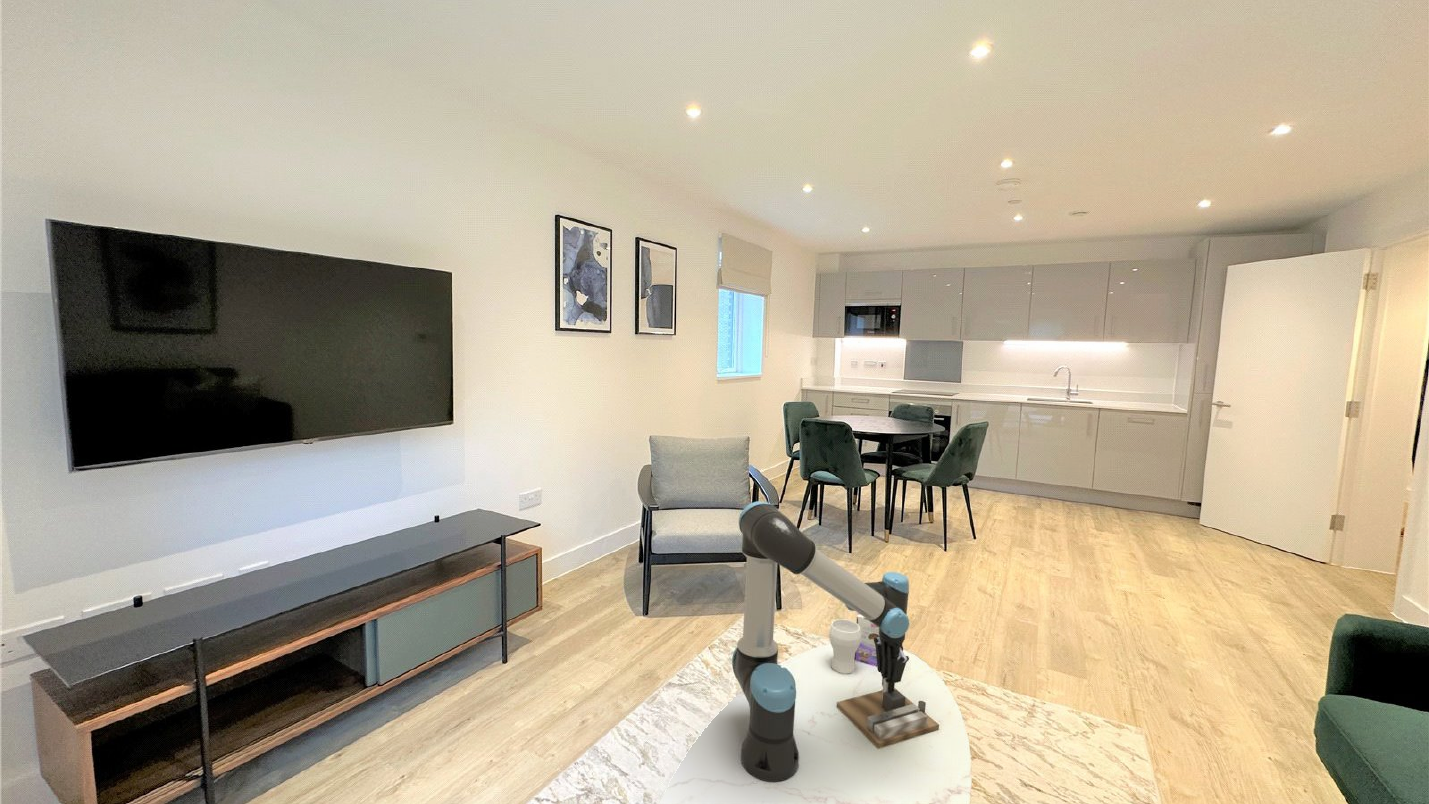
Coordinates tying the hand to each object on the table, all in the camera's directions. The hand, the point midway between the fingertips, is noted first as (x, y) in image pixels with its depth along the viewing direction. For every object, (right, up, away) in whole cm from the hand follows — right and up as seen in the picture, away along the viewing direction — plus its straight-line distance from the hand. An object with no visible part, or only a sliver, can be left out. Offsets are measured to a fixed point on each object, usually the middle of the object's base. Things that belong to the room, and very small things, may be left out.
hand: (887, 699), depth 168 cm
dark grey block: (+1, -2, -2) cm, 3 cm away
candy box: (+4, -1, +26) cm, 26 cm away
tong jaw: (-1, -2, -9) cm, 9 cm away
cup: (-8, -1, +22) cm, 23 cm away
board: (-1, -3, -4) cm, 5 cm away
